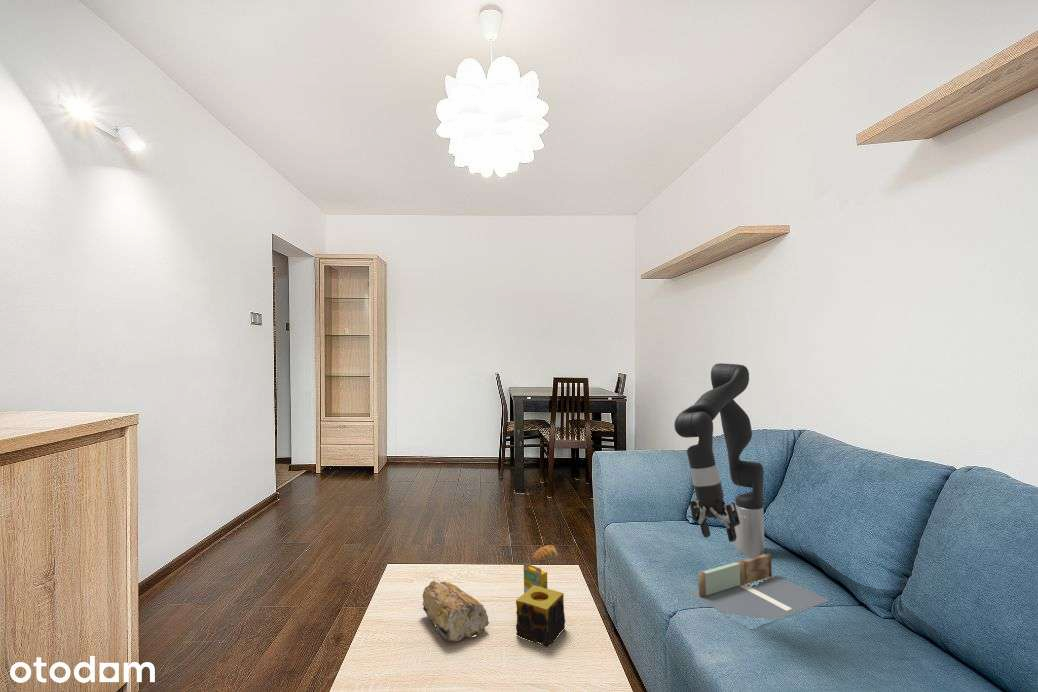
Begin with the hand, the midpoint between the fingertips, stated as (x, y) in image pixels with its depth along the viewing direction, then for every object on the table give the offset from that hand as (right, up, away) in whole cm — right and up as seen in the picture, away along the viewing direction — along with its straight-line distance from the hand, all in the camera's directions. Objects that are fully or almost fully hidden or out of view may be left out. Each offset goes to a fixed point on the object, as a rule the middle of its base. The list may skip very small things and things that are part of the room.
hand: (719, 538), depth 142 cm
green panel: (+6, -21, +13) cm, 25 cm away
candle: (-51, -23, -6) cm, 56 cm away
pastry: (-47, -23, +41) cm, 67 cm away
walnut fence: (+20, -21, +20) cm, 35 cm away
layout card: (+15, -21, +9) cm, 28 cm away
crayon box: (-52, -23, +10) cm, 58 cm away
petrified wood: (-75, -24, -1) cm, 79 cm away
